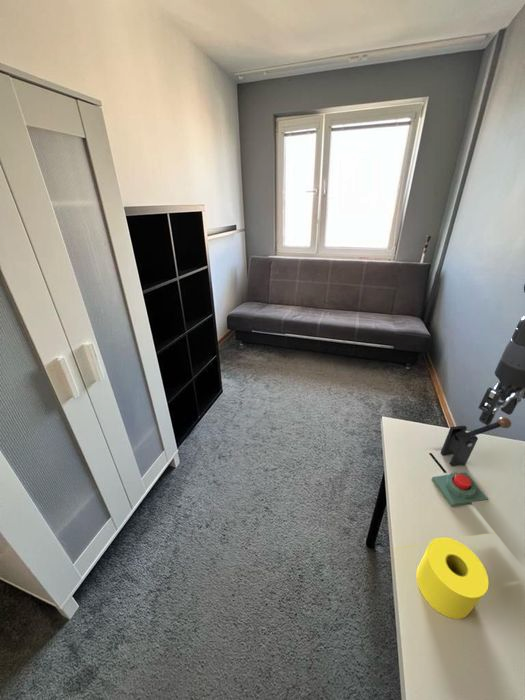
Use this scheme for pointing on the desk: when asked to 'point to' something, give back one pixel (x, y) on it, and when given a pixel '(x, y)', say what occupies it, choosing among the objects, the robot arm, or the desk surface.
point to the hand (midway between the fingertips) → (495, 417)
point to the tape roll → (451, 578)
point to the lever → (484, 428)
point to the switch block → (457, 490)
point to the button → (462, 482)
